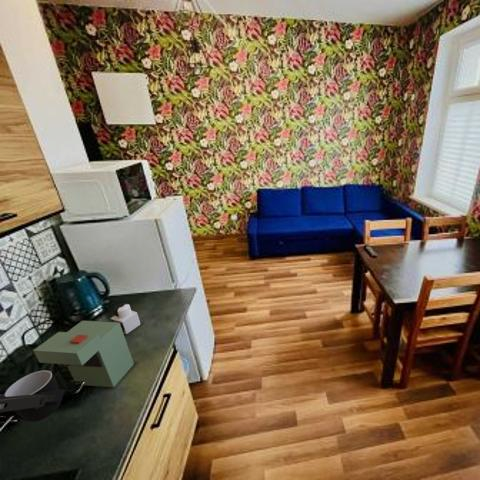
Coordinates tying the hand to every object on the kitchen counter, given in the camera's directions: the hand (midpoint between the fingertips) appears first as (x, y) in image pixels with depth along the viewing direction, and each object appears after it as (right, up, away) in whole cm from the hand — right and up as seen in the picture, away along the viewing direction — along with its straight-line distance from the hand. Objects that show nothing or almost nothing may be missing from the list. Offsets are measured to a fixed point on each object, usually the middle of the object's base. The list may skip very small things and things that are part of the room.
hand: (43, 393), depth 73 cm
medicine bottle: (-11, +2, +47) cm, 49 cm away
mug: (-1, -5, -1) cm, 5 cm away
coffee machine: (-3, -8, +22) cm, 23 cm away
